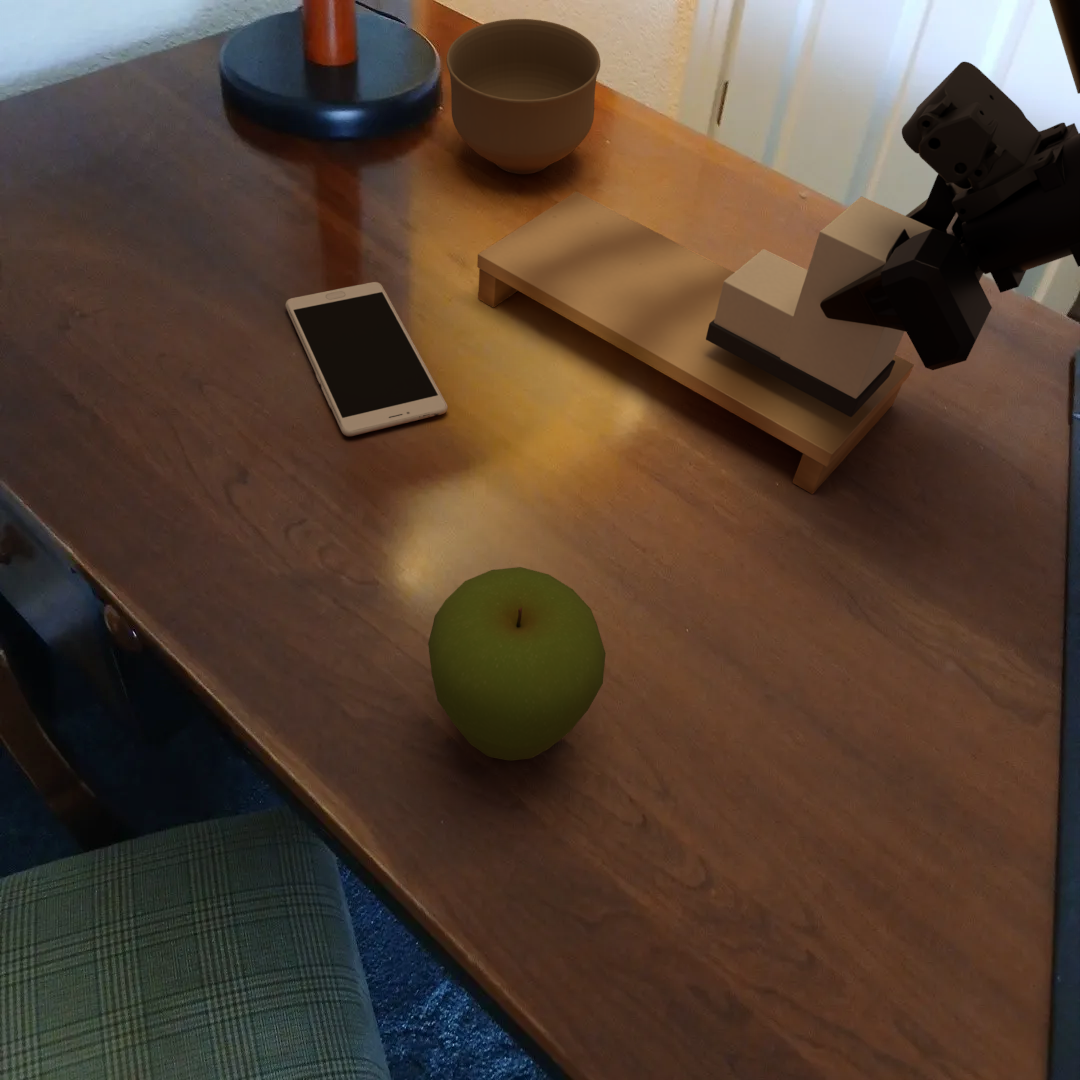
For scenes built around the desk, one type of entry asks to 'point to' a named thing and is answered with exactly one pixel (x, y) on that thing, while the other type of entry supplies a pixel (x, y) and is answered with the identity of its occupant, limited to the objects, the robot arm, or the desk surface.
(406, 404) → the smartphone
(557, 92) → the bowl
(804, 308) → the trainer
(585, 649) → the apple
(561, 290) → the platform
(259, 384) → the desk surface
